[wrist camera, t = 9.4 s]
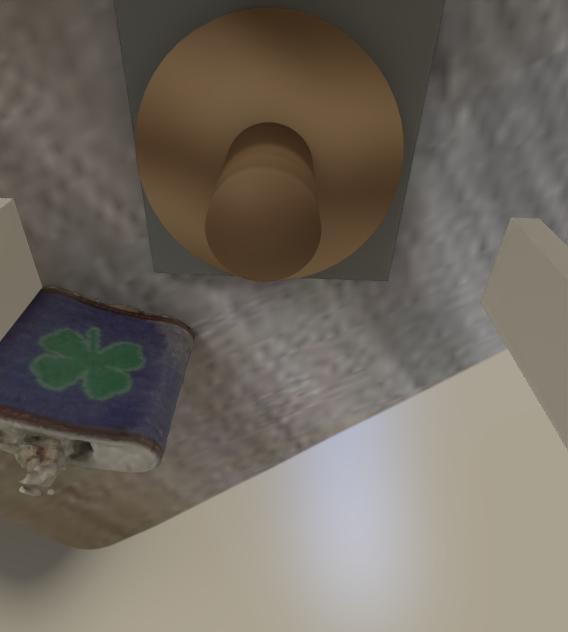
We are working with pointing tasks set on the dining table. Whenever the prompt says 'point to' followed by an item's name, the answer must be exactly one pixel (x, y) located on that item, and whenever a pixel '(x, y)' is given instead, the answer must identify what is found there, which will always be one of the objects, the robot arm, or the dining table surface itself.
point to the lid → (269, 144)
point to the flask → (88, 386)
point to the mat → (348, 16)
